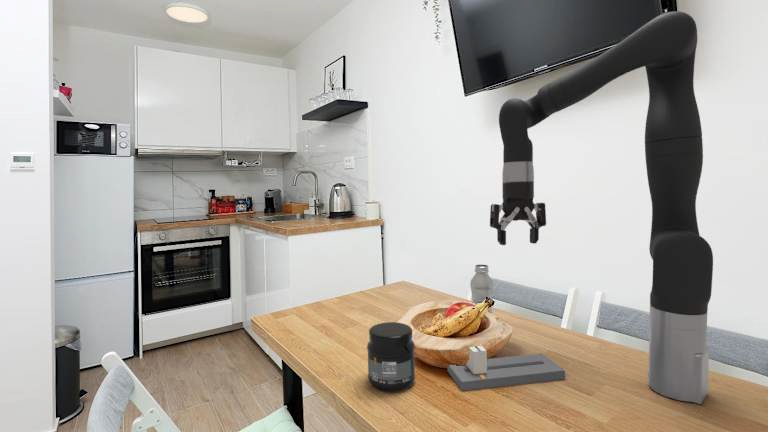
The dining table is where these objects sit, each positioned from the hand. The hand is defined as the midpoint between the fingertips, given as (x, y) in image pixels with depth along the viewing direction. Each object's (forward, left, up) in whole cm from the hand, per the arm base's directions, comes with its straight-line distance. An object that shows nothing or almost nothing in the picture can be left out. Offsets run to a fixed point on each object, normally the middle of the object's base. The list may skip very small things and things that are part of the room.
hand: (518, 243), depth 97 cm
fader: (-2, +20, -26) cm, 33 cm away
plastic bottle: (+14, -4, -28) cm, 32 cm away
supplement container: (+10, +35, -28) cm, 46 cm away
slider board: (-5, +14, -28) cm, 32 cm away
